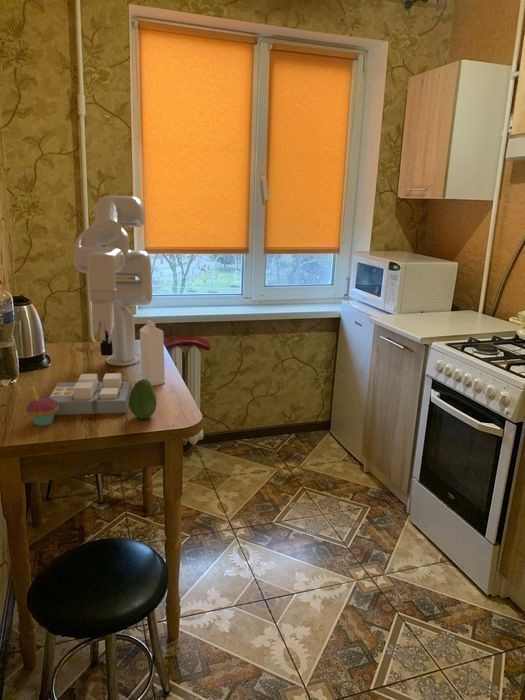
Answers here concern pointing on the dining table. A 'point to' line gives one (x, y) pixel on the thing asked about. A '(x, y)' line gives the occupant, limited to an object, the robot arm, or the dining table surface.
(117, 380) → the button
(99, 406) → the board
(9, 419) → the dining table surface
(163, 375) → the milk
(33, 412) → the cupcake
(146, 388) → the avocado
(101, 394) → the button
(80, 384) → the button
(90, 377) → the button
